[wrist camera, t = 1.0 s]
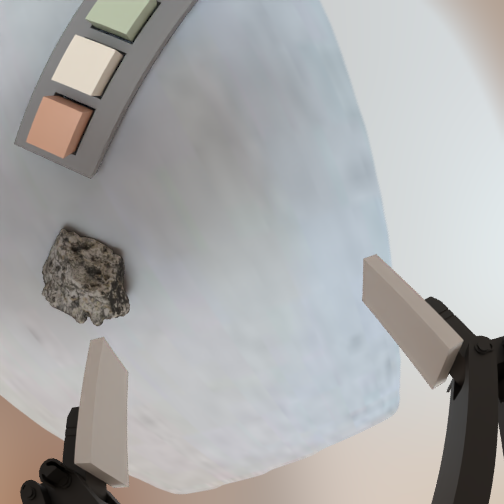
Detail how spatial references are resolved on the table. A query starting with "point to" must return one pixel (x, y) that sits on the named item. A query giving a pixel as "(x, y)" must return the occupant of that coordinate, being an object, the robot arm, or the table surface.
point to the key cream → (87, 66)
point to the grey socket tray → (118, 91)
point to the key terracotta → (59, 125)
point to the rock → (85, 279)
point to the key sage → (121, 16)
